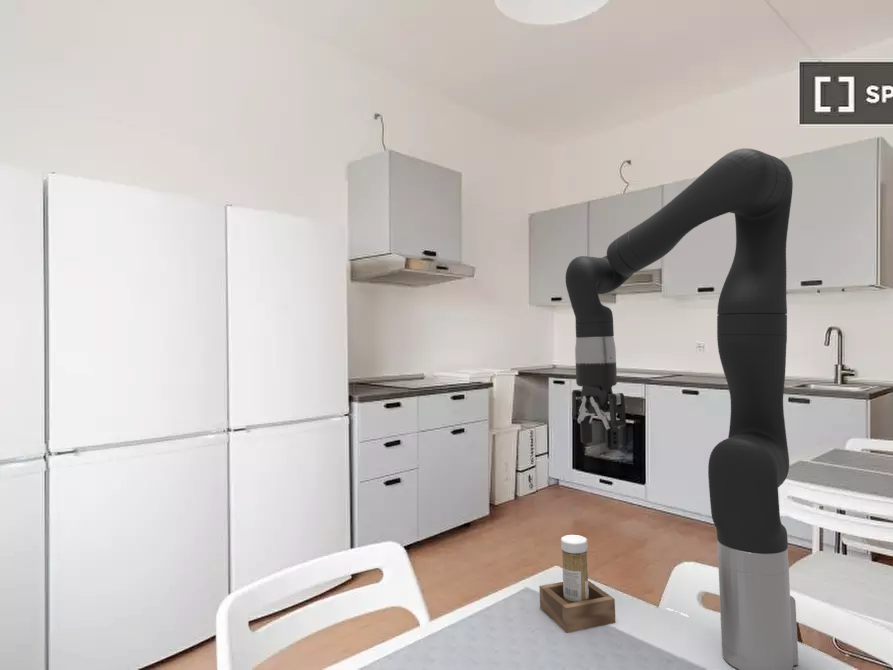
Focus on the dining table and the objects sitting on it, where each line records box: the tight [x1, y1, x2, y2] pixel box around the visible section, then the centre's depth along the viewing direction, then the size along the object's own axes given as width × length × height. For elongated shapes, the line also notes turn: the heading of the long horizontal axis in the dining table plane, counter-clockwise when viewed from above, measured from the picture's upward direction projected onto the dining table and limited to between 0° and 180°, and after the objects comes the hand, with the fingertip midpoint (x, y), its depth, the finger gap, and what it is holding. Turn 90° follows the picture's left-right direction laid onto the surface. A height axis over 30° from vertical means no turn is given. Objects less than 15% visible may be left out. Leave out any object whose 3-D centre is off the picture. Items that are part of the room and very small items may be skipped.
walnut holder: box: [539, 580, 616, 633], centre depth 98 cm, size 9×9×4 cm
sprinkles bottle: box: [560, 534, 589, 604], centre depth 98 cm, size 5×5×13 cm
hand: (598, 446), depth 106 cm, fingers open, 8 cm apart
